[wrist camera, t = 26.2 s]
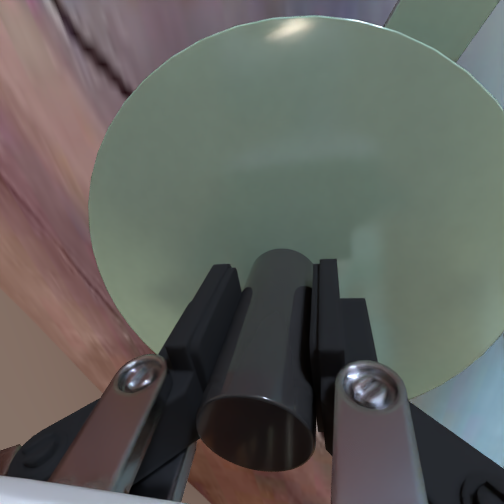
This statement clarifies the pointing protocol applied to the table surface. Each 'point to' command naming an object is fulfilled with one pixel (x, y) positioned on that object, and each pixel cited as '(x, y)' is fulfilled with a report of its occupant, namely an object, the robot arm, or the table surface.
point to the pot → (441, 22)
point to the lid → (305, 212)
